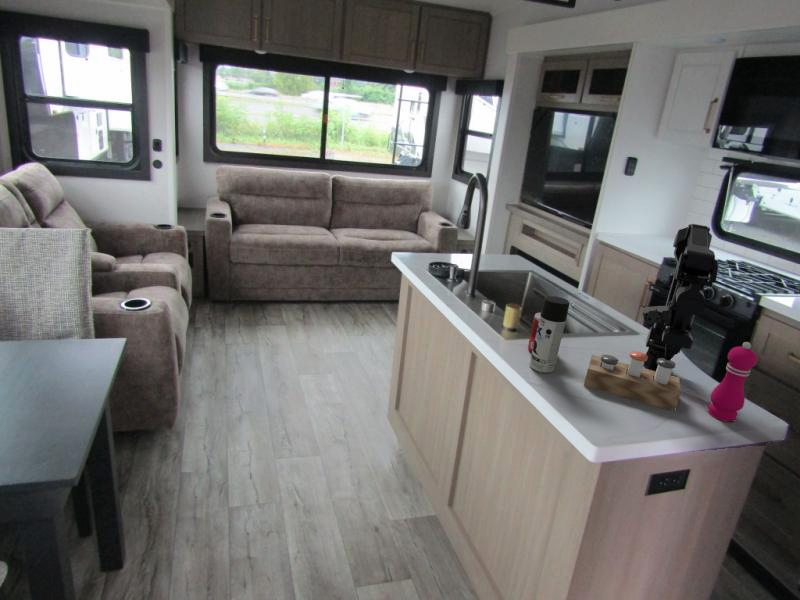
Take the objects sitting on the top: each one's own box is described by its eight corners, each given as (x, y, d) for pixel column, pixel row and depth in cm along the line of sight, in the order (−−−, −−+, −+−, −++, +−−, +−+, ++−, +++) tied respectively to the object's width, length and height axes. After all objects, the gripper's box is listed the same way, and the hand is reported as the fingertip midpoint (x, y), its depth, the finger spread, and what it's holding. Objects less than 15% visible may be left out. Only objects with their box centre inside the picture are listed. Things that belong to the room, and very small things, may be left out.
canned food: (555, 360, 157) (564, 324, 154) (527, 354, 159) (535, 319, 155) (554, 349, 165) (562, 315, 161) (527, 344, 166) (534, 310, 162)
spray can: (527, 361, 155) (541, 293, 148) (551, 363, 155) (566, 296, 148) (531, 372, 149) (546, 302, 142) (556, 375, 149) (573, 305, 142)
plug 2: (667, 384, 143) (675, 361, 140) (668, 391, 139) (675, 367, 137) (650, 379, 144) (657, 356, 142) (650, 386, 140) (657, 362, 138)
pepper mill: (724, 424, 133) (752, 350, 127) (699, 409, 140) (724, 336, 133) (744, 421, 136) (772, 347, 129) (718, 405, 142) (744, 334, 136)
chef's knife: (718, 411, 141) (723, 408, 142) (719, 407, 140) (725, 404, 142) (649, 377, 155) (655, 374, 157) (650, 373, 154) (656, 371, 156)
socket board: (673, 394, 145) (679, 377, 144) (674, 411, 137) (680, 394, 135) (587, 370, 153) (592, 354, 151) (583, 385, 144) (588, 368, 143)
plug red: (641, 377, 145) (648, 354, 143) (640, 383, 141) (647, 360, 139) (624, 372, 146) (630, 349, 144) (623, 379, 143) (630, 355, 140)
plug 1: (612, 380, 148) (618, 357, 146) (611, 386, 145) (617, 363, 142) (596, 375, 150) (602, 353, 147) (594, 382, 146) (600, 359, 144)
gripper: (650, 284, 145) (634, 338, 150) (648, 304, 128) (631, 364, 134) (696, 294, 141) (679, 349, 146) (701, 316, 124) (681, 378, 130)
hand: (667, 359), depth 139 cm, fingers closed
